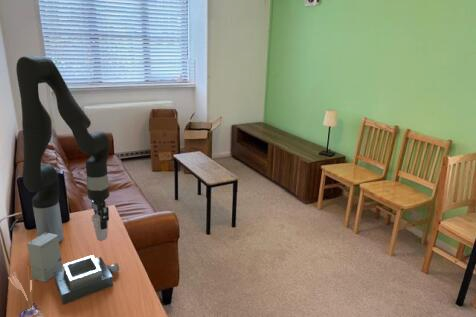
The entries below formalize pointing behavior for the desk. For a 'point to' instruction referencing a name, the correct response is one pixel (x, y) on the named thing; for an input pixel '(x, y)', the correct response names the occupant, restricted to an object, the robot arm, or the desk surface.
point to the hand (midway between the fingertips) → (101, 224)
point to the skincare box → (45, 256)
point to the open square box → (83, 278)
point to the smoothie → (99, 228)
